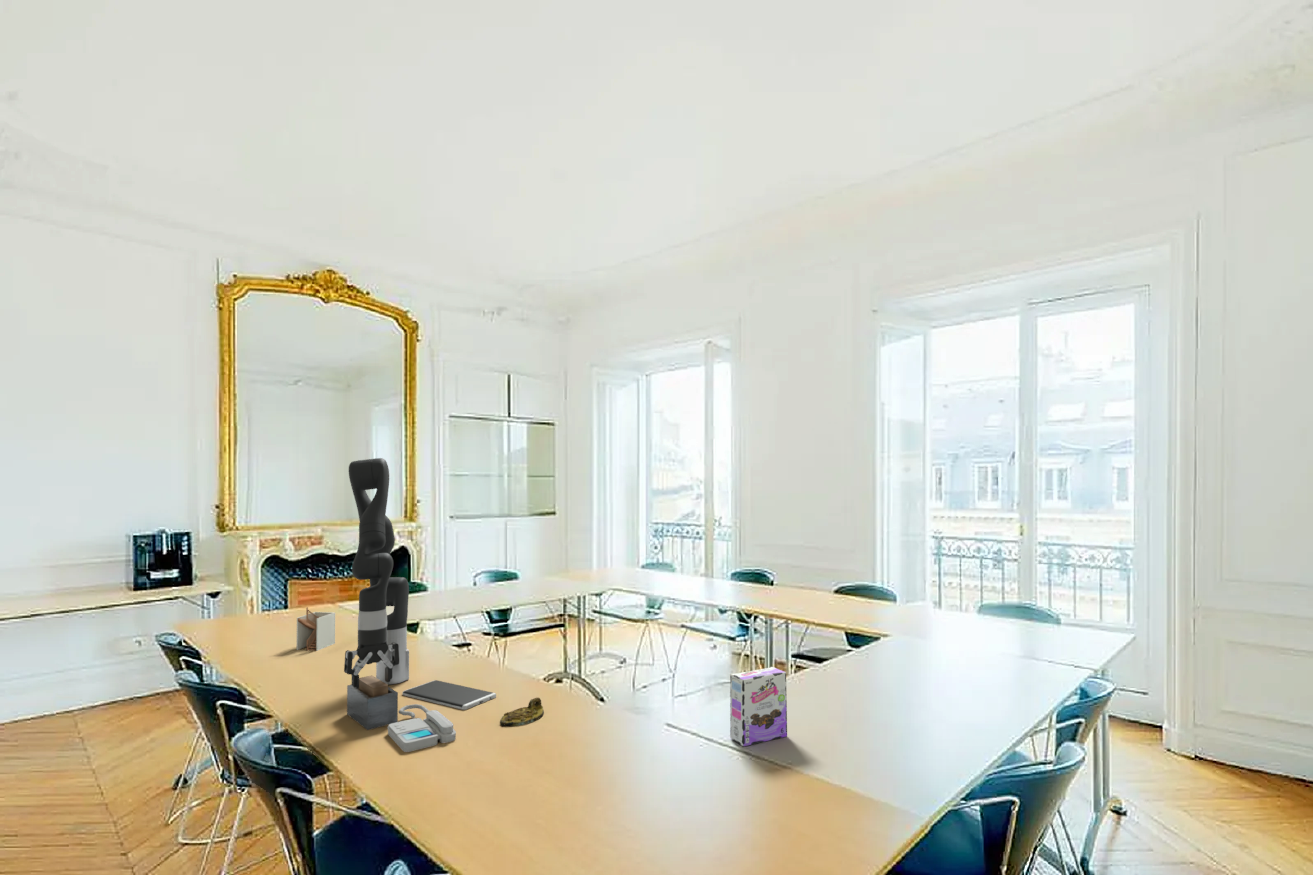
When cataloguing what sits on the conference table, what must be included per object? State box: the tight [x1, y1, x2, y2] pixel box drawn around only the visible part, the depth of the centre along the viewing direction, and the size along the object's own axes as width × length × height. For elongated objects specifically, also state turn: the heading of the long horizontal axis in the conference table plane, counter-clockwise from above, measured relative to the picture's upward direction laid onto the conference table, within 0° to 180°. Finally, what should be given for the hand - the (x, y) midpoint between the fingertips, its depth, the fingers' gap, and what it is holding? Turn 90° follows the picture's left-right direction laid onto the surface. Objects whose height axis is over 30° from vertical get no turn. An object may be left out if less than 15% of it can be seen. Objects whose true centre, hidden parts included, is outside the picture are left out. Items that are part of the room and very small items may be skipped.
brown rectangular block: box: [358, 675, 389, 698], centre depth 193 cm, size 4×12×5 cm, turn 42°
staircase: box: [296, 607, 336, 652], centre depth 270 cm, size 9×11×17 cm
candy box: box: [729, 666, 788, 747], centre depth 177 cm, size 14×6×16 cm, turn 117°
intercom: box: [387, 703, 457, 753], centre depth 183 cm, size 13×4×25 cm
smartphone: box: [402, 679, 497, 711], centre depth 211 cm, size 13×27×2 cm, turn 59°
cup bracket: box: [346, 684, 399, 731], centre depth 193 cm, size 8×16×8 cm, turn 42°
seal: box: [499, 697, 545, 727], centre depth 192 cm, size 9×5×15 cm
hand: (372, 684), depth 193 cm, fingers open, 8 cm apart
